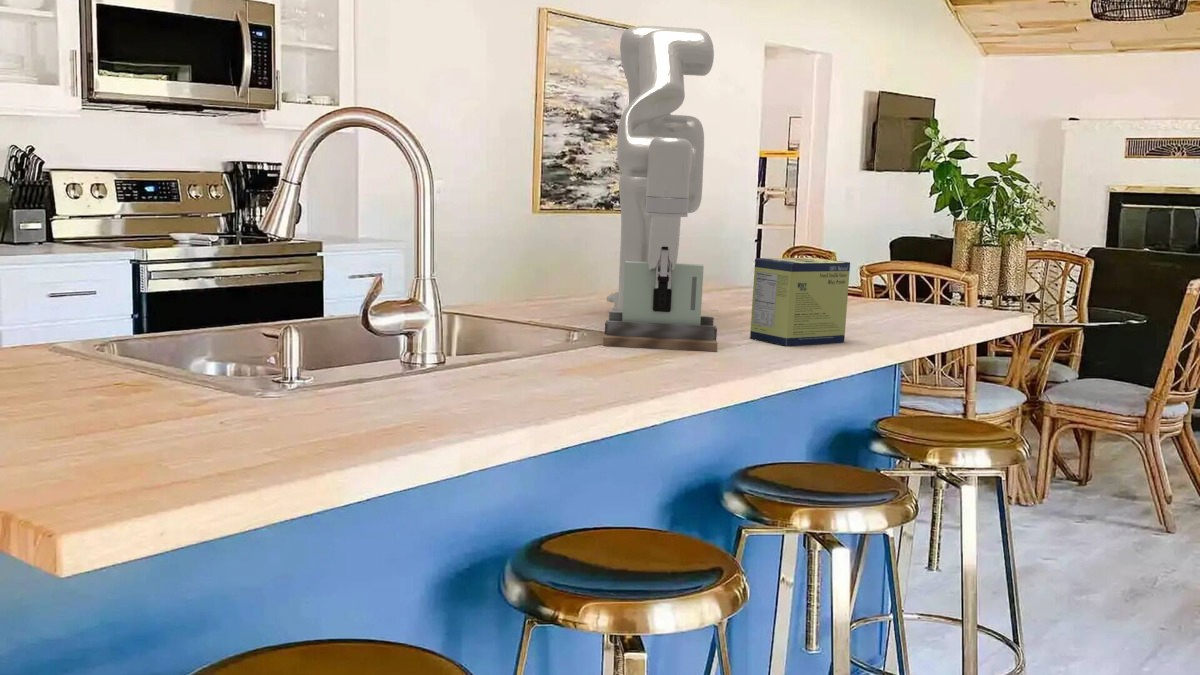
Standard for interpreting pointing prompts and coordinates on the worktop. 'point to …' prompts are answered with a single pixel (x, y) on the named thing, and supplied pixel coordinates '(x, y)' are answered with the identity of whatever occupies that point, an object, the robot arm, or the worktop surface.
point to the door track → (660, 334)
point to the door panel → (682, 285)
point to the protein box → (799, 301)
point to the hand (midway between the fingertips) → (661, 309)
